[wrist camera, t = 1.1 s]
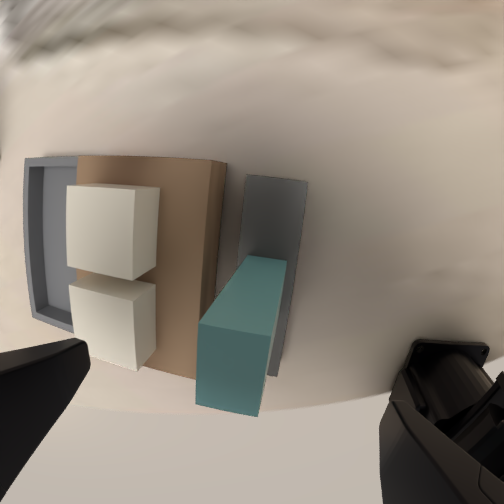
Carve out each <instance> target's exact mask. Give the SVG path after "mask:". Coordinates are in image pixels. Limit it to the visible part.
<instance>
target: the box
mask: <svg viewBox="0 0 504 504" xmlns="http://www.w3.org/2000/svg"><path fill="white" fill-rule="evenodd" d="M77 165H78V156H71V157H40V158H25V164H24V184H23V230H24V250H25V263H26V274H27V283H28V291H29V298H30V305H31V311H32V317H33V318H35V319H38V320H40V321H43V322H45V323H48V324H50V325H53V326H55V327H58V328H61V329H63V330H66V331H69V332H71V333H74V329H73V322H72V314H71V305H70V295H69V284H71V283H73V282H75V281H77V273H76V268H73V267H69V266H67V248H66V195H67V185H76V180H77Z"/></svg>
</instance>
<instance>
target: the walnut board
mask: <svg viewBox="0 0 504 504" xmlns="http://www.w3.org/2000/svg"><path fill="white" fill-rule="evenodd" d="M226 166H227V163H223V162H218V161H213V160H201V159H186V158H169V157H145V156H78V165H77V180H76V185H79V184H92V183H102V184H118V185H133V186H146V187H159V188H160V196H159V210H158V227H157V249H156V266H155V267H154V268H152V269H151V270H149V271H147V272H146V273H144V274H143V275H141V276H139V277H138V278H136V279H135V280H137V281H142V282H147V283H151V284H156V350H155V351H154V352H153V353H152V355H151V356H150V357H149V358H148V359H147V361H146V362H145V363H144V364H143V365H142V366H146V367H149V368H153V369H156V370H160V371H164V372H167V373H171V374H175V375H179V376H183V377H187V378H191V379H195V380H196V364H197V338H198V323H199V321H200V320H201V319H202V317H203V316H204V314H205V313H206V312H207V310H208V309H209V308H210V306H211V305H212V303H213V302H214V294H215V281H216V269H217V257H218V246H219V235H220V224H221V214H222V204H223V194H224V184H225V175H226ZM76 273H77V280H79V279H81V278H83V277H85V276H87V275H89V274H91V273H93V272H90V271H86V270H82V269H78V268H76Z"/></svg>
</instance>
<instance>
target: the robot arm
mask: <svg viewBox="0 0 504 504" xmlns="http://www.w3.org/2000/svg"><path fill="white" fill-rule="evenodd" d="M419 346H422V347H421V348H420V349H418V350H417V348H418V347H419ZM482 350H484V351H483V352H482ZM488 353H489V347H488V345H487V344H485V343H469V342H451V341H435V340H422V339H420V340H417V341H415V342H414V343H413V344H412V347H411V349H410V352H409V355H408V358H407V360H406V363H405V366H404V368H403V369H402V370H401V371H400V373H399V375H398V378H397V380H396V383H395V385H394V388H393V390H392V393H391V395H390V397H389V404H388V406H387V408H386V410H385V413H384V415H383V417H382V419H381V422H380V426H379V443H380V480H381V489H382V498H383V504H504V372H503V371H502V372H501V373H500V374H499V375H498V377H497V378H496V381H495V383H494V382H493V381H492V380H491V378H490V377H489V376H488V374H487V373H486V372H485V371H484V369H483V368H482V367H483V365H484V363H485V360H486V358H487V356H488ZM90 365H91V363H90V356H89V350H88V344H87V343H86V342H85V341H84V340H81V339H78V338H71V339H67V340H62V341H57V342H53V343H48V344H43V345H38V346H33V347H28V348H23V349H18V350H13V351H8V352H3V353H0V502H1V500H2V498H3V497H4V495H5V494H6V492H7V491H8V489H9V488H10V486H11V485H12V483H13V482H14V480H15V478H16V477H17V476H18V474H19V473H20V471H21V470H22V468H23V467H24V465H25V464H26V463H27V461H28V460H29V458H30V457H31V456H32V454H33V453H34V451H35V450H36V448H37V447H38V446H39V444H40V443H41V441H42V440H43V439H44V437H45V436H46V434H47V433H48V432H49V430H50V429H51V427H52V426H53V425H54V423H55V422H56V420H57V419H58V418H59V417H60V415H61V414H62V413H63V411H64V410H65V409H66V407H67V406H68V404H69V403H70V401H71V400H72V398H73V396H74V395H75V393H76V391H77V390H78V388H79V386H80V385H81V383H82V381H83V380H84V378H85V376H86V375H87V373H88V371H89V369H90Z"/></svg>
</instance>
